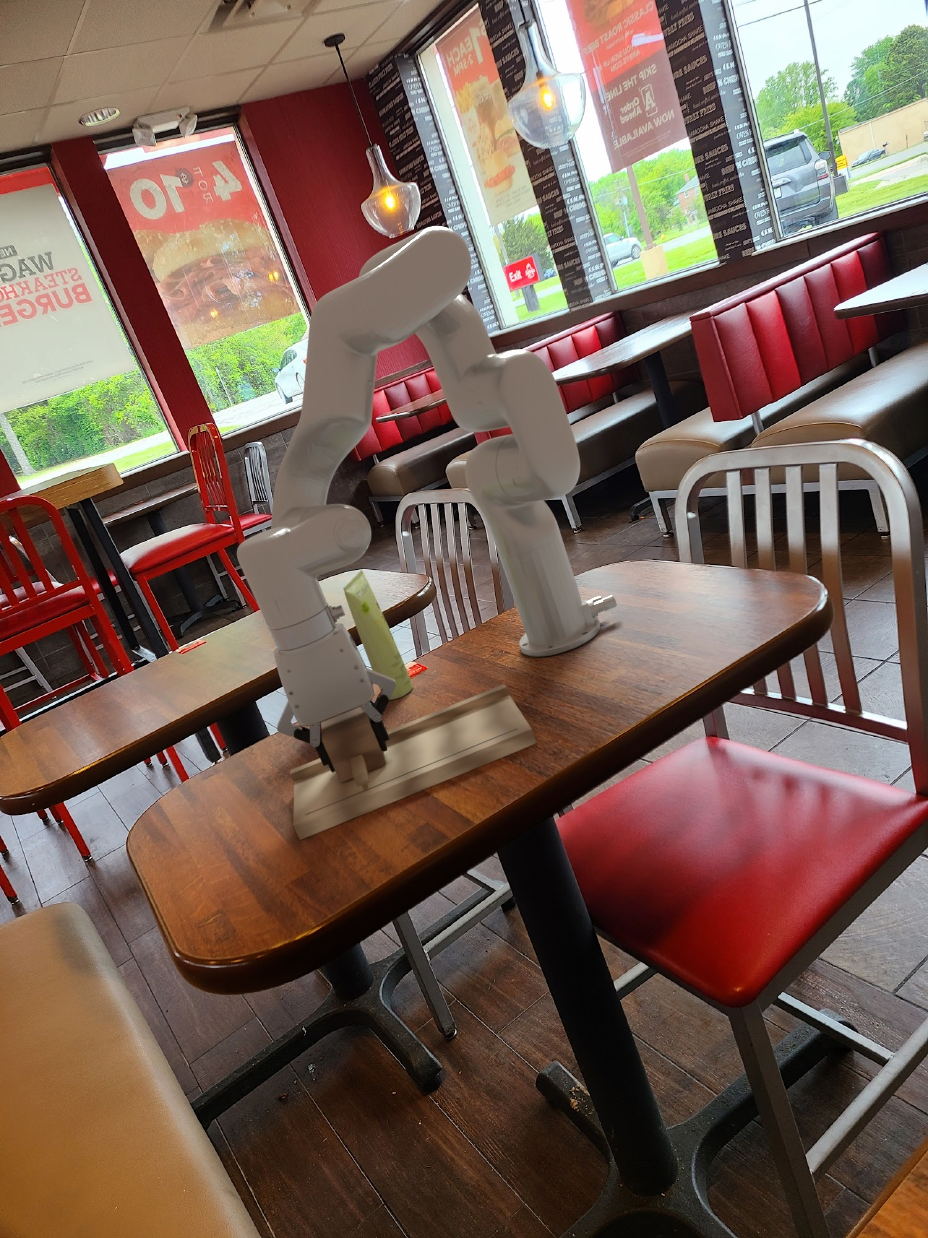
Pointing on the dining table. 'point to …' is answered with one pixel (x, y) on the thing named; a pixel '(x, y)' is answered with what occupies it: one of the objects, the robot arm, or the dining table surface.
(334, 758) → the tan block with peg
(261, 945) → the dining table surface
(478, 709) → the board
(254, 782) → the dining table surface
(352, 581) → the tube
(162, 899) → the dining table surface
